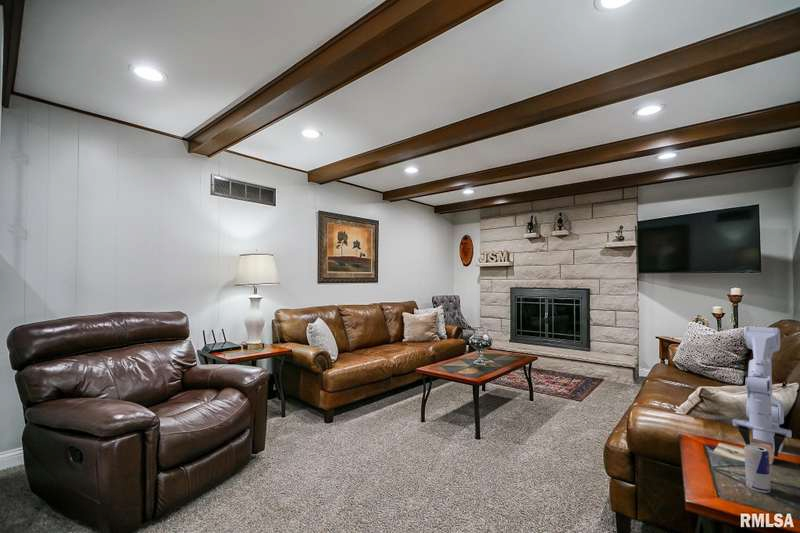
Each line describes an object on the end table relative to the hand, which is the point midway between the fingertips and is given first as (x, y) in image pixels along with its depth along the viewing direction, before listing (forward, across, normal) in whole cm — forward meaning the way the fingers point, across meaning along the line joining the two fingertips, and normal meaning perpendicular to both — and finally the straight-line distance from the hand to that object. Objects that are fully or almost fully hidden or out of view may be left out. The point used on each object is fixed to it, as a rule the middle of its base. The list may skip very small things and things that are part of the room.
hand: (762, 452), depth 130 cm
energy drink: (+3, +2, -24) cm, 25 cm away
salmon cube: (+3, 0, 0) cm, 3 cm away
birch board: (+3, -8, 0) cm, 8 cm away
